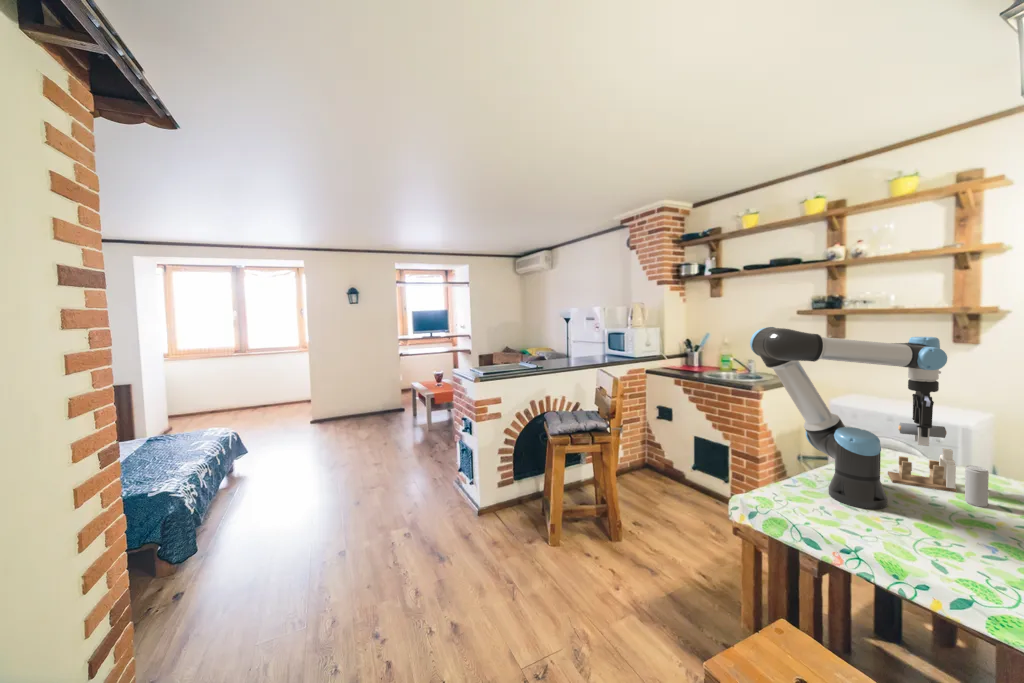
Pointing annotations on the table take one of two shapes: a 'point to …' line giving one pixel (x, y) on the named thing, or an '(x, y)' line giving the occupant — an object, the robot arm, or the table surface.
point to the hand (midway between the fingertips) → (921, 443)
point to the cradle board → (928, 482)
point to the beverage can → (976, 485)
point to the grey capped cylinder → (913, 430)
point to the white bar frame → (948, 467)
